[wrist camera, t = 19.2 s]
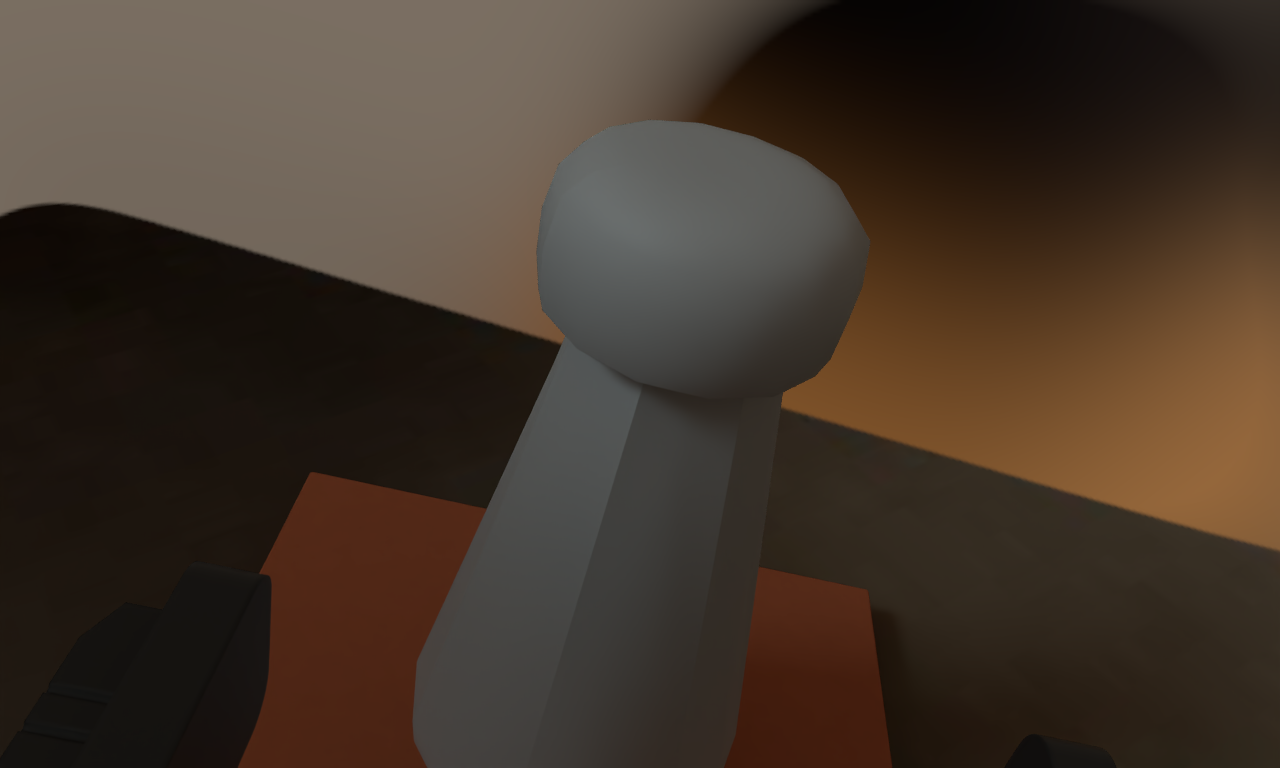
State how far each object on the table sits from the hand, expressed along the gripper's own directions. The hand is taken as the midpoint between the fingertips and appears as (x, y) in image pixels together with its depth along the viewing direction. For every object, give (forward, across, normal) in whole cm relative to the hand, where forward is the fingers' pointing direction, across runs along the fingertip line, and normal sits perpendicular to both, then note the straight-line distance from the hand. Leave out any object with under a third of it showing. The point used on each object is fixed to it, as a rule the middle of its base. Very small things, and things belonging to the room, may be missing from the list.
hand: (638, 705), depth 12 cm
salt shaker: (+5, 0, +9) cm, 11 cm away
